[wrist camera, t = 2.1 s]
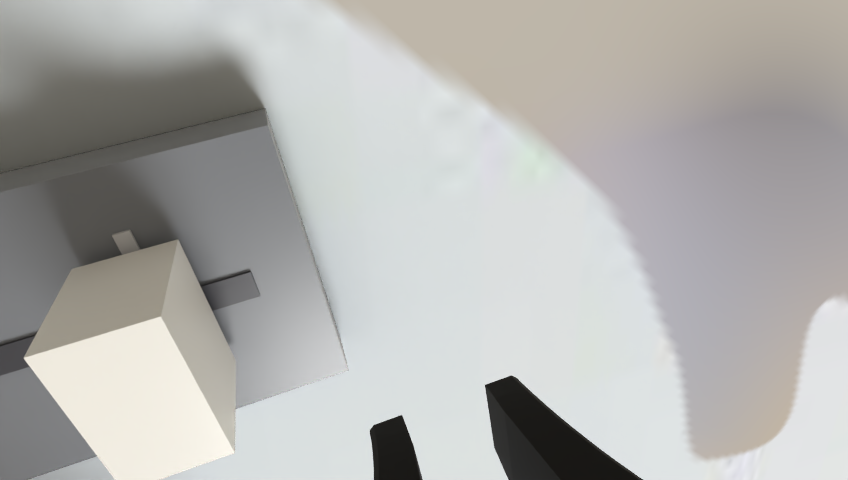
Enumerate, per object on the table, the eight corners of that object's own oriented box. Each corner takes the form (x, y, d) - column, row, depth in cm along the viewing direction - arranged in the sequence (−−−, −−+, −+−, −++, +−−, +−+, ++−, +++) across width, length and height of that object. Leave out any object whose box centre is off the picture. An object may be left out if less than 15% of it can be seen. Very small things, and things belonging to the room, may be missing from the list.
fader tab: (236, 361, 18) (234, 453, 15) (146, 390, 18) (124, 492, 14) (178, 238, 16) (160, 316, 12) (71, 268, 15) (23, 358, 12)
